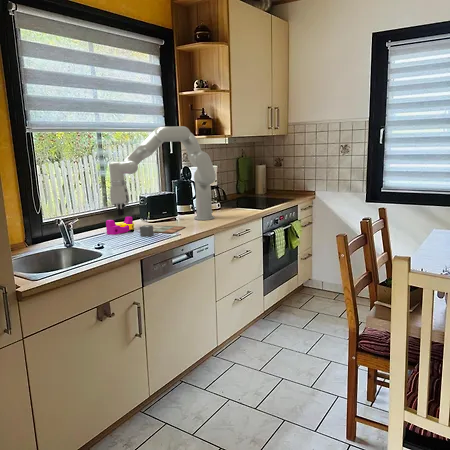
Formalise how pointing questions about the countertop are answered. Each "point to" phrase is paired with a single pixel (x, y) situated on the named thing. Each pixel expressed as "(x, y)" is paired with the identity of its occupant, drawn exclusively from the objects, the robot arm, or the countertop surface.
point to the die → (146, 230)
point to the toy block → (115, 229)
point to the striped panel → (167, 229)
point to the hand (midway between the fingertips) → (121, 215)
